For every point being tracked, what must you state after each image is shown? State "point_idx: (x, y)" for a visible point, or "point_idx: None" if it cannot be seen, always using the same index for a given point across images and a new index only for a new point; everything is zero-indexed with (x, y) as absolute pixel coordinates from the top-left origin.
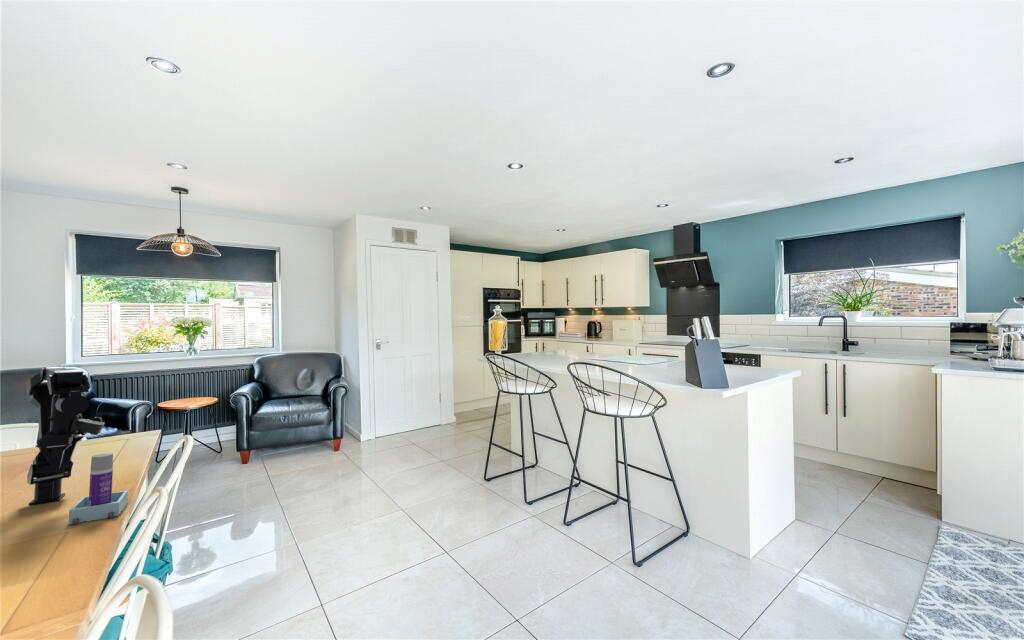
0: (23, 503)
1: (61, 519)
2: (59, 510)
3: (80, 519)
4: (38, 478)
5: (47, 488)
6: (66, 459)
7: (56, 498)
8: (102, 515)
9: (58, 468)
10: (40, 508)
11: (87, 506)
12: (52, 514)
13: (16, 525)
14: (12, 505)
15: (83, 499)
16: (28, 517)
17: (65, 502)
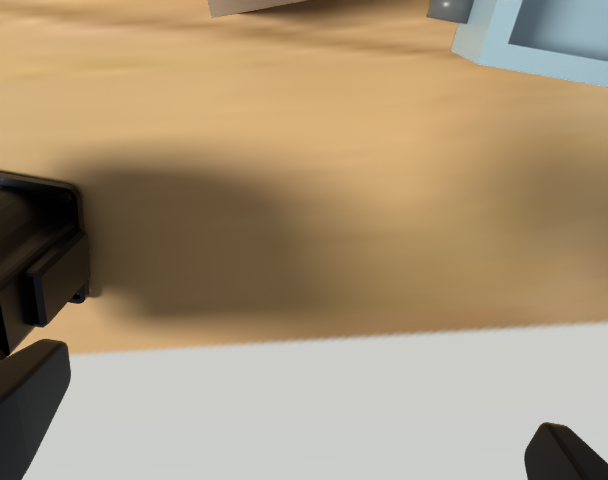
0: None
1: (566, 146)
2: (326, 168)
3: None
4: None
5: (44, 284)
6: (51, 397)
7: (53, 201)
8: None
9: (564, 431)
10: (196, 250)
11: (547, 16)
12: (391, 193)
13: (463, 310)
14: None
15: (554, 52)
16: (349, 281)
17: (144, 150)
